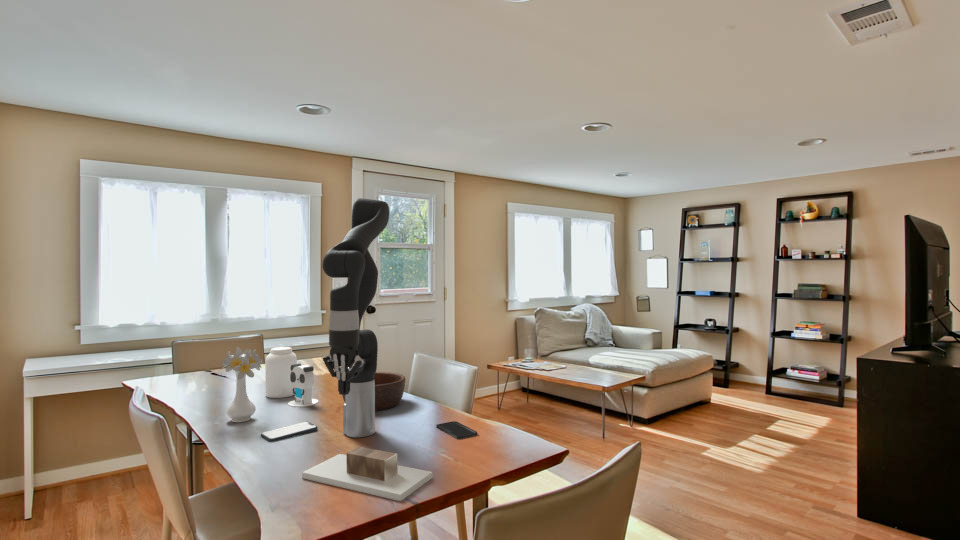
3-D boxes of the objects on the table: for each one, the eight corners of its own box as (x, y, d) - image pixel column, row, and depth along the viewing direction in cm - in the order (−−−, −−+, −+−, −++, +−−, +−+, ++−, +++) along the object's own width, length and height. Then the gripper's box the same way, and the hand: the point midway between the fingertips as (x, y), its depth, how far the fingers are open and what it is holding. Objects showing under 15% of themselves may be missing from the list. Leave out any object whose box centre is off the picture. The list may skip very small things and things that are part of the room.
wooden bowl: (345, 417, 180) (345, 388, 180) (336, 400, 203) (336, 375, 203) (413, 408, 190) (412, 381, 190) (396, 393, 213) (396, 369, 213)
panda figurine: (281, 403, 199) (281, 365, 199) (307, 397, 207) (307, 361, 207) (297, 408, 191) (297, 369, 191) (323, 402, 199) (323, 364, 199)
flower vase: (232, 430, 165) (232, 354, 165) (214, 418, 178) (214, 348, 178) (272, 421, 174) (271, 350, 174) (252, 411, 188) (252, 344, 188)
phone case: (270, 444, 154) (319, 431, 165) (270, 439, 154) (319, 426, 165) (259, 438, 160) (307, 425, 171) (259, 432, 160) (306, 420, 171)
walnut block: (346, 453, 126) (385, 460, 121) (359, 446, 131) (397, 453, 126) (346, 472, 126) (385, 481, 121) (359, 465, 131) (397, 473, 126)
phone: (455, 420, 172) (478, 432, 159) (455, 424, 172) (478, 436, 159) (434, 424, 168) (457, 437, 155) (434, 428, 168) (457, 440, 155)
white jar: (302, 394, 212) (302, 347, 212) (273, 400, 203) (273, 351, 203) (289, 389, 221) (288, 344, 221) (260, 395, 212) (260, 347, 212)
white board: (302, 478, 127) (302, 472, 127) (339, 459, 140) (339, 453, 140) (400, 501, 114) (400, 494, 114) (432, 477, 127) (432, 472, 127)
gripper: (373, 327, 130) (373, 393, 130) (334, 324, 136) (334, 388, 136) (354, 330, 123) (354, 400, 124) (314, 327, 129) (314, 394, 129)
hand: (344, 394), depth 130 cm, fingers closed
